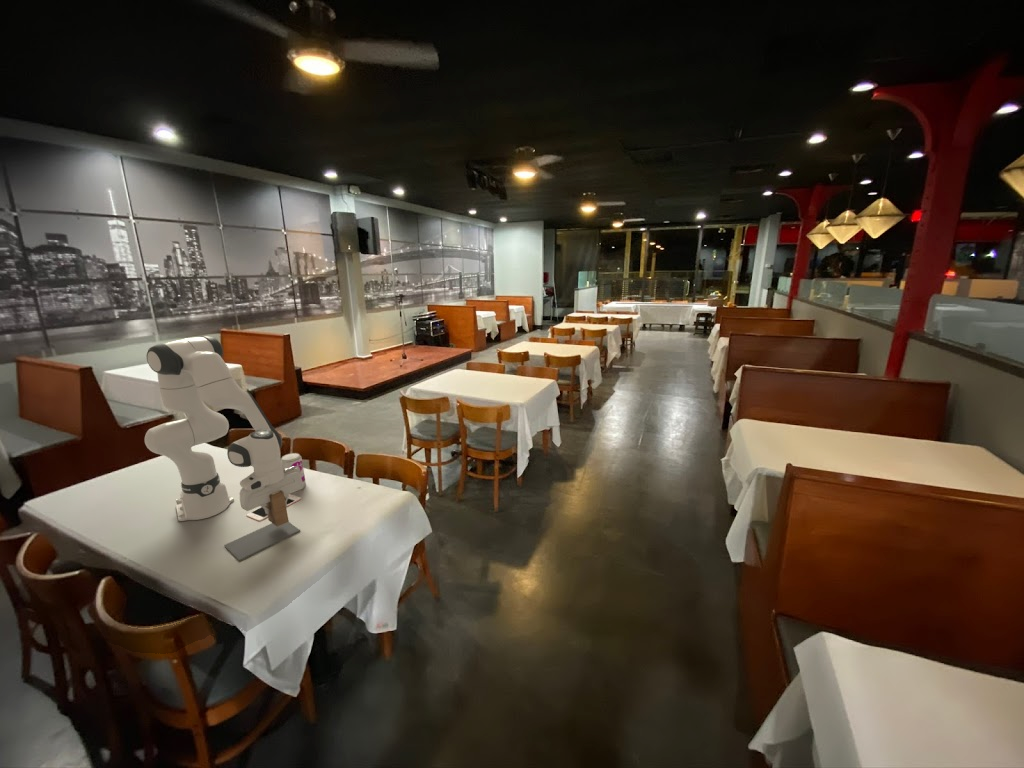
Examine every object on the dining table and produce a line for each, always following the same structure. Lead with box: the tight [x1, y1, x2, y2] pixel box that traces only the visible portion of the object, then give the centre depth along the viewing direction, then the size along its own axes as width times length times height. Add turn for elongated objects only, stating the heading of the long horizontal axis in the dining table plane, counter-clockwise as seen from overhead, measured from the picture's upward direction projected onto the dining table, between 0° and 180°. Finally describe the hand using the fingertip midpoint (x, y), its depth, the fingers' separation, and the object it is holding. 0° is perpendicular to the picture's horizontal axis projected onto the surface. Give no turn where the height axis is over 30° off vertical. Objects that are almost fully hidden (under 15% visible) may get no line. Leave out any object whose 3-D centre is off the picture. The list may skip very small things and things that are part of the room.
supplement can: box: [280, 452, 307, 492], centre depth 180 cm, size 8×8×15 cm
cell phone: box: [245, 493, 302, 522], centre depth 167 cm, size 9×18×1 cm, turn 153°
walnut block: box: [266, 491, 290, 527], centre depth 149 cm, size 7×4×12 cm, turn 53°
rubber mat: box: [223, 522, 301, 562], centre depth 147 cm, size 13×20×1 cm, turn 143°
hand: (276, 509), depth 150 cm, fingers closed on walnut block, 4 cm apart
